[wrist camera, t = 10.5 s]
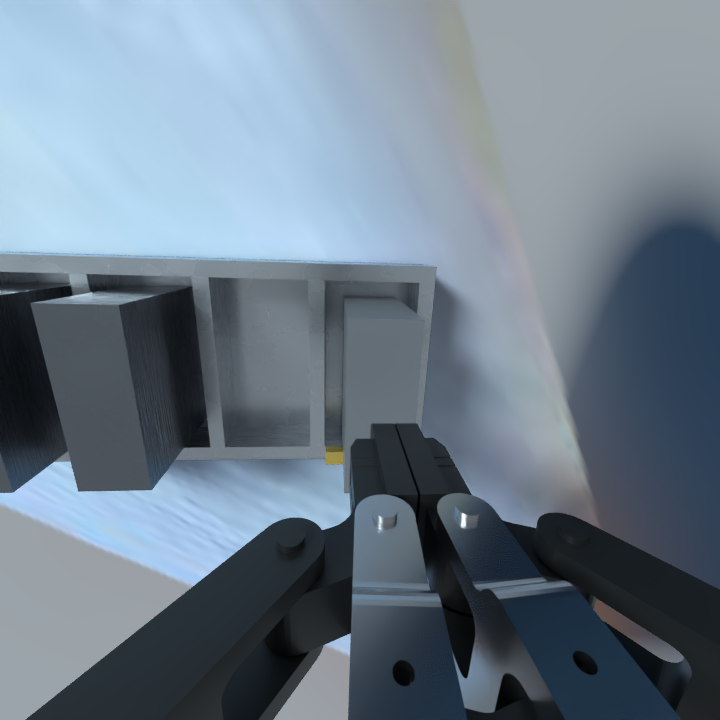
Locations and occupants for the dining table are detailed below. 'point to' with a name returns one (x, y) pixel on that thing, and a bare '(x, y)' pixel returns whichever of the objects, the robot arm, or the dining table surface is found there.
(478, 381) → the dining table surface
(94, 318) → the rack
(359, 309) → the grey block
